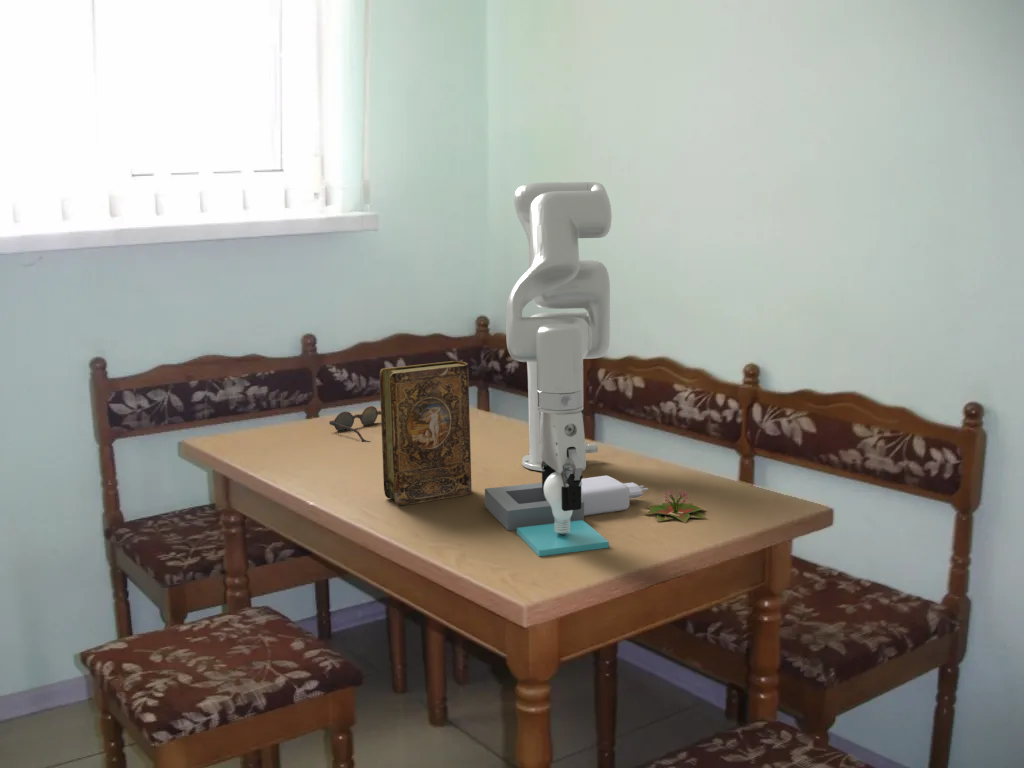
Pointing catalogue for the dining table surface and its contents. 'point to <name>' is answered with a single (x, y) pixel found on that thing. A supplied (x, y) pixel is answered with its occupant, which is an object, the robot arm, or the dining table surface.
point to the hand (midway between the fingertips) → (561, 501)
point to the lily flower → (676, 509)
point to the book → (425, 432)
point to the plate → (562, 538)
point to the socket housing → (522, 506)
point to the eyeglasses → (347, 419)
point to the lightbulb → (557, 502)
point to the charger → (607, 494)
